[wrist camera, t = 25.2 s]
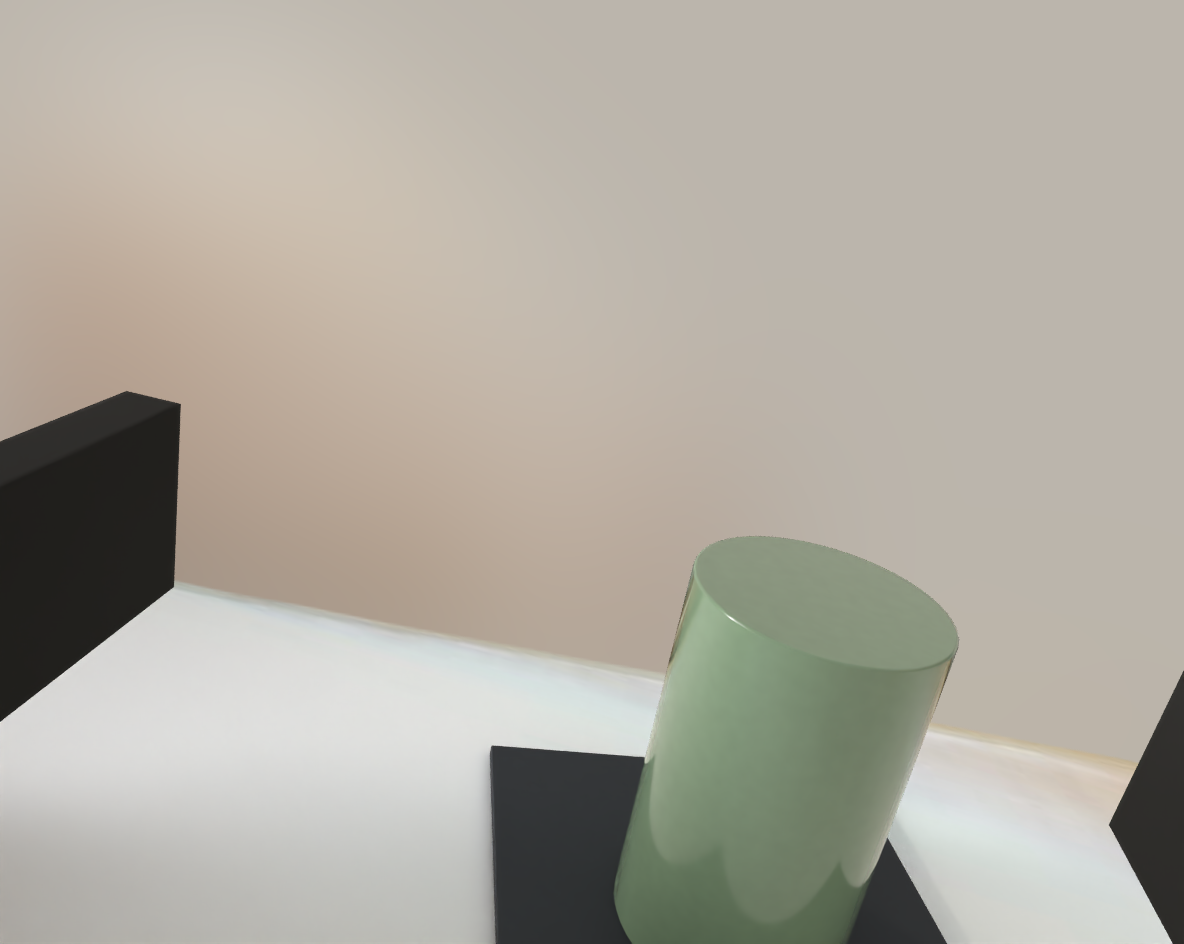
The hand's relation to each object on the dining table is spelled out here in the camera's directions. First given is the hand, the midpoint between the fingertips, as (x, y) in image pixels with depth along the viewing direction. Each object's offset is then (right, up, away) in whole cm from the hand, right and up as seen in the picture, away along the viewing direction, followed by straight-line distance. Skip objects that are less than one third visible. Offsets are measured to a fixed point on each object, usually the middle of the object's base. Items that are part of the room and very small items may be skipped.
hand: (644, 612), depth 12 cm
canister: (+3, -12, +16) cm, 20 cm away
